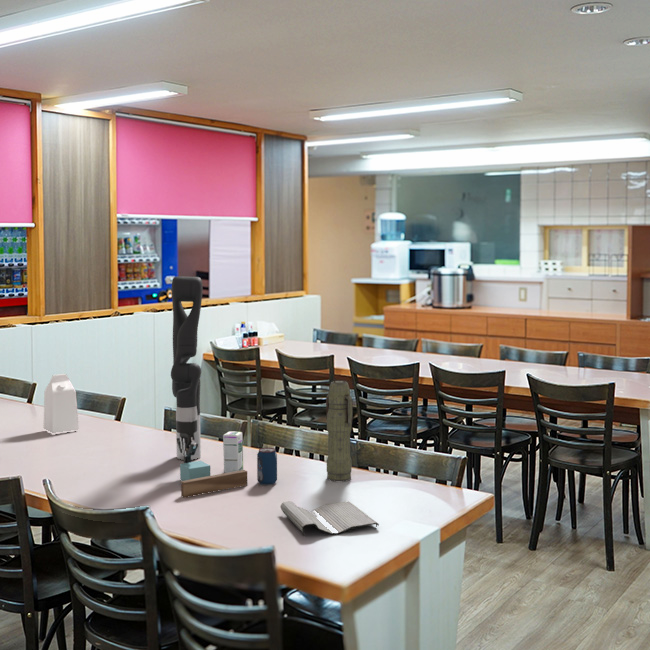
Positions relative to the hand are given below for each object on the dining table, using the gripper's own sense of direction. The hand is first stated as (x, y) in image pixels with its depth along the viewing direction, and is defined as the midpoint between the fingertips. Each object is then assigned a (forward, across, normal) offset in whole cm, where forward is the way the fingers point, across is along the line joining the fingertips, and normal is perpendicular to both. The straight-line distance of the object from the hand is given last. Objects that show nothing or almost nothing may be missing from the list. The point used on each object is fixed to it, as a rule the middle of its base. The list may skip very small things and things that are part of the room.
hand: (187, 466), depth 283 cm
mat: (+5, +68, +12) cm, 69 cm away
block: (+4, +6, 0) cm, 7 cm away
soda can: (+4, +23, +19) cm, 30 cm away
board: (+4, +20, 0) cm, 21 cm away
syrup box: (+4, +3, +17) cm, 18 cm away
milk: (+5, -102, -13) cm, 102 cm away
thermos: (+4, +33, +43) cm, 55 cm away
